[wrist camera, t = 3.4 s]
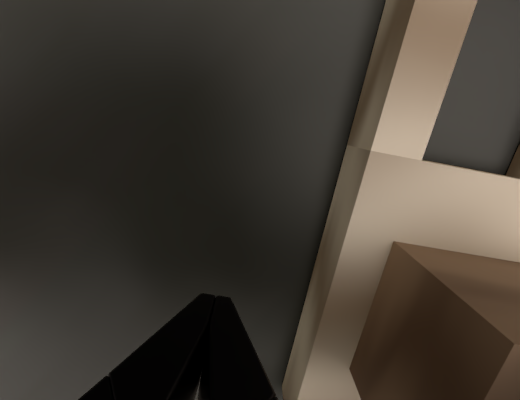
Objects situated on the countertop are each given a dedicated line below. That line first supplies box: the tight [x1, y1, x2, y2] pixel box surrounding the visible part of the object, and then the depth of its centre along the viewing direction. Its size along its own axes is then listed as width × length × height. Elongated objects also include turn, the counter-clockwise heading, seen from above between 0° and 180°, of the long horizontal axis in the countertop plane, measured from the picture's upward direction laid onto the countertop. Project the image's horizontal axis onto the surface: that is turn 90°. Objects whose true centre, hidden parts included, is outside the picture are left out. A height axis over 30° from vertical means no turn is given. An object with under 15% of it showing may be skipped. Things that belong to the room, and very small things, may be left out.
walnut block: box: [349, 241, 520, 400], centre depth 7 cm, size 5×5×4 cm
